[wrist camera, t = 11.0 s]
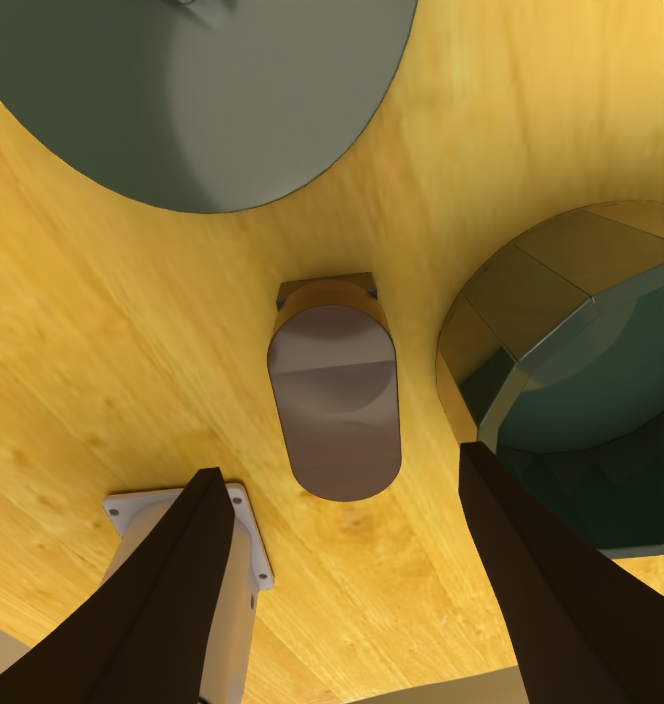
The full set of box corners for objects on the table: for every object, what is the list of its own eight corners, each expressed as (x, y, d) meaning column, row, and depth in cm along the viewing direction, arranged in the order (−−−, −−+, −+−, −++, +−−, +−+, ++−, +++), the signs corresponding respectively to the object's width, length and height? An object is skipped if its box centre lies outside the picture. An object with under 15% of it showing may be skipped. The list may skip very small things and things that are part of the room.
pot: (682, 442, 22) (795, 544, 16) (435, 466, 22) (468, 572, 17) (785, 179, 15) (1023, 209, 10) (435, 223, 16) (488, 273, 11)
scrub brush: (389, 428, 21) (404, 497, 17) (304, 437, 21) (299, 506, 17) (378, 256, 17) (393, 296, 13) (270, 269, 17) (253, 313, 13)
